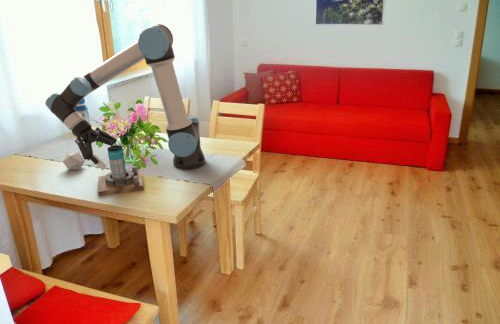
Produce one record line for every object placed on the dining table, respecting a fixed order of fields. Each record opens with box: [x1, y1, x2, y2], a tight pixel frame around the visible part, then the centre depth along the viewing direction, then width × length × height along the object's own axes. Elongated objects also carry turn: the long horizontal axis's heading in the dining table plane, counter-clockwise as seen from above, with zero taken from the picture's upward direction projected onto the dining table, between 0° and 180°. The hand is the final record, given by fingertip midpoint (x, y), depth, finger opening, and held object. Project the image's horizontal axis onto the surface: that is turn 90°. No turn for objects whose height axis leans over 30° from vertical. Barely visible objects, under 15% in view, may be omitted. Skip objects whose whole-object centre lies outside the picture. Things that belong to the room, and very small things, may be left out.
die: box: [62, 151, 85, 171], centre depth 194 cm, size 8×9×10 cm
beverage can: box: [107, 144, 127, 180], centre depth 174 cm, size 6×6×15 cm
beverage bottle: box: [75, 97, 91, 125], centre depth 245 cm, size 8×8×20 cm
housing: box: [97, 166, 144, 197], centre depth 177 cm, size 18×16×5 cm
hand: (114, 162), depth 174 cm, fingers open, 13 cm apart
